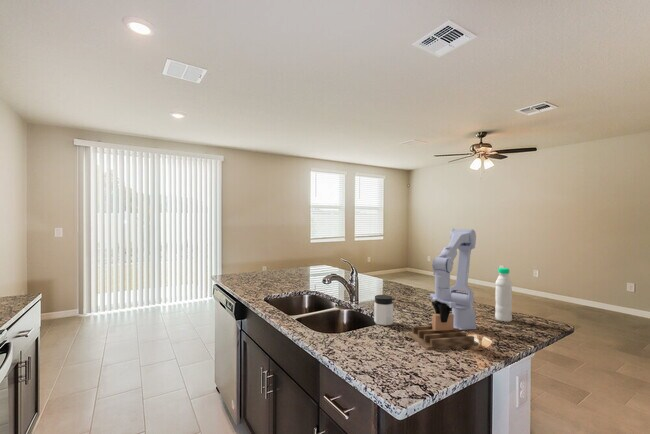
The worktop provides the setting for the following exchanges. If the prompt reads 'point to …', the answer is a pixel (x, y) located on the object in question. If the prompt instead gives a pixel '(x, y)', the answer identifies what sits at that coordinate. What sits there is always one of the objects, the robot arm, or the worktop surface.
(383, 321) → the jar
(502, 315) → the water bottle
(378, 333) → the worktop surface
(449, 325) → the tile
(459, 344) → the rack
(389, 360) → the worktop surface
